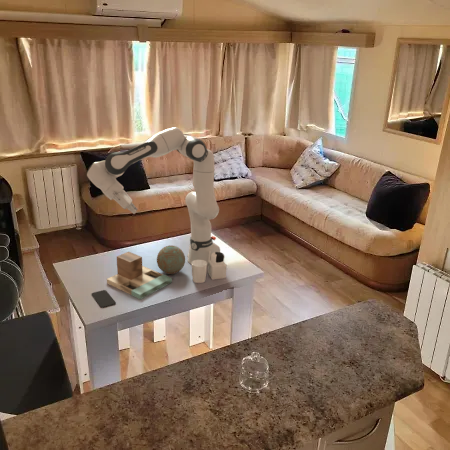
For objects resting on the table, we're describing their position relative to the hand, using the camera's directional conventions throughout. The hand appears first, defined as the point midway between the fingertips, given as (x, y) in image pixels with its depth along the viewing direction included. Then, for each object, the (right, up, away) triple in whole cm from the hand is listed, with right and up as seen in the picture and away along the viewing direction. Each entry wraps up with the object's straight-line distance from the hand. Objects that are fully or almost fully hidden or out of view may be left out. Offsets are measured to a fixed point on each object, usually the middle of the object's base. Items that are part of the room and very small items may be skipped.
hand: (136, 211), depth 225 cm
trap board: (-1, -36, +13) cm, 38 cm away
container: (+39, -34, +23) cm, 56 cm away
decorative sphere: (+14, -32, +25) cm, 43 cm away
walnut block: (-6, -32, +16) cm, 36 cm away
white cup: (+29, -35, +18) cm, 49 cm away
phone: (-15, -42, -3) cm, 45 cm away
